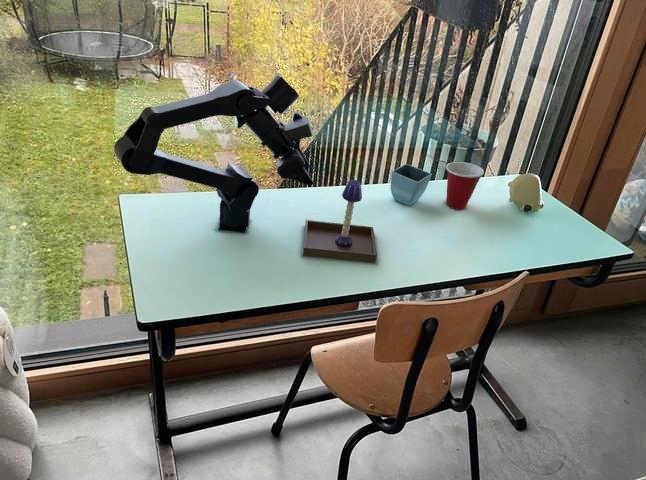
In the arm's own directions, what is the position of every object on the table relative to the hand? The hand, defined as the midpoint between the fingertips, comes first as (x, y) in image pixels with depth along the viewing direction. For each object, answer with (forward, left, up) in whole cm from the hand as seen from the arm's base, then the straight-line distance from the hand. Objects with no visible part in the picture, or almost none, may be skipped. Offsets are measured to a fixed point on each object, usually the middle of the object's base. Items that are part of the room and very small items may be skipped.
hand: (310, 175), depth 137 cm
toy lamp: (+10, -8, -13) cm, 18 cm away
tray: (+9, -8, -14) cm, 18 cm away
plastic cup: (+44, +21, -14) cm, 50 cm away
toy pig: (+66, +25, -14) cm, 71 cm away
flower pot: (+29, +20, -14) cm, 37 cm away
